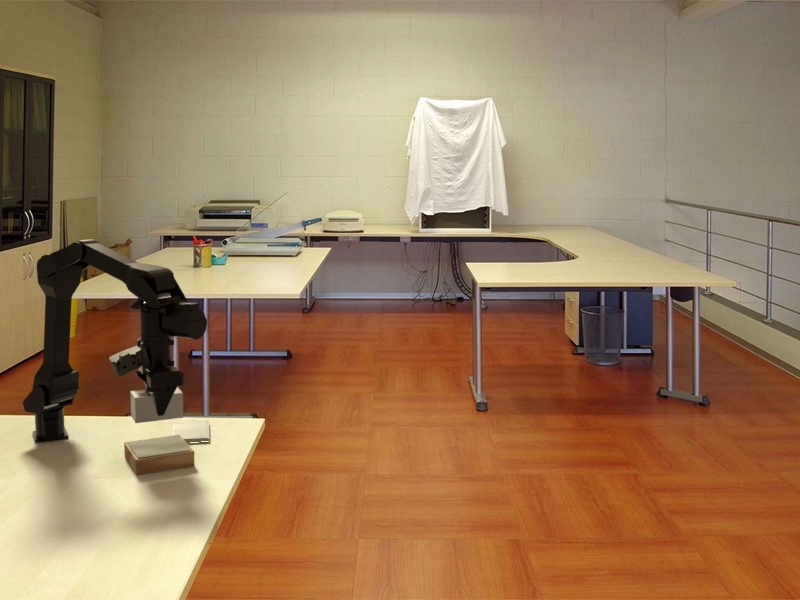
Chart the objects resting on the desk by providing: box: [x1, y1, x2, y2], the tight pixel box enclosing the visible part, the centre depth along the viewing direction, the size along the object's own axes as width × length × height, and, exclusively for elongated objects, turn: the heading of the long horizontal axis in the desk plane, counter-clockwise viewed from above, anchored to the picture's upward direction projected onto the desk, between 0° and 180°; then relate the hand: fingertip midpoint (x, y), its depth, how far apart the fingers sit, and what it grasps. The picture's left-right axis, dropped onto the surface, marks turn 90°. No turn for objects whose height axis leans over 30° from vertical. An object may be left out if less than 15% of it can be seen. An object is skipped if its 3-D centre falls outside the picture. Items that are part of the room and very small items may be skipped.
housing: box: [129, 386, 184, 424], centre depth 156 cm, size 9×5×5 cm, turn 118°
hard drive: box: [169, 420, 211, 443], centre depth 175 cm, size 2×8×12 cm
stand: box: [123, 435, 195, 476], centre depth 158 cm, size 11×11×3 cm
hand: (157, 411), depth 157 cm, fingers closed on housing, 5 cm apart
